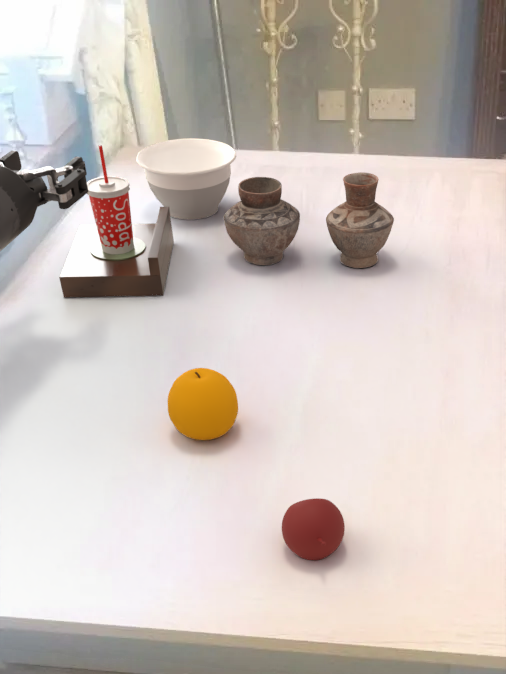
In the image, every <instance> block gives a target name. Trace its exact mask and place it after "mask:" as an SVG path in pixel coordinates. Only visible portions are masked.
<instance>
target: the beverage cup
mask: <svg viewBox="0 0 506 674" xmlns="http://www.w3.org/2000/svg"><path fill="white" fill-rule="evenodd" d="M98 152H99V157H100V163H101V167H102V168H101V169H102V174H103V176H99V177H95V178H92V179H90V180H88V181H87V187H88V193H87V194H86V195H88V199H89V202H90V206H91V211H92V214H93V218H94V223H95V224H96V226H97V230H98V234H99V238H100V242H101V246H102V250H103V251H104V252H105V253H108V254H124V253H127V252H129V251H131V250H133V248H134V242H133V232H132V224H133V222H132V213H131V204H130V190H131V188H130V186H131V185H130V182H129V180H128V179H127V178H125V177H122V176H117V175H108V172H107V166H106V165H107V164H106V161H105V155H104V149H103V145H102V144H98Z"/></svg>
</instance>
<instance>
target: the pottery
mask: <svg viewBox="0 0 506 674" xmlns="http://www.w3.org/2000/svg"><path fill="white" fill-rule="evenodd" d="M379 181H380V180H379V177H378V176H377V175H376V174H374V173H370V172H362V171H361V172H351V173H349V174H346V175H345V176H343V178H342V182H343V186H344V191H345V201H344V202H342V203H341V204H339V205H337V206H336V207H334V208H333V209H332V210H331V211H330V212H328V214H326V217H325V223H326V227H327V230H328V235H329V236H330V239H331V241H332V243H333V244H334V246H335V248H336V249H337V250H338V251H339V252H340V255H339V261H340V263H341V264H342V265H344V266H346V267H349V268H354V269H364V268H365V269H367V268H370V267H373V266H375V265H376V264H377V263H378V262H379V257H378V253H379V252H380V251H381V250H382V249H383V248H384V247H385V245H386V243H387V241H388V239H389V236H390V234H391V232H392V229H393V226H394V221H395V217H394V216H393V214H392V213H391V212H390V211H389V210H388V209H387V208H386V207H384V206H382V205H381V204H379V202H378V203H377V202H376V195H377V188H378V184H379ZM282 186H283V185H282V182H281V181H280V180H279V179H276V178H274V177H268V176H253V177H248V178H245V179H243V180H241V181H240V182H239V183H238V185H237V187H238V188H237V189H238V196H239V199H240V201H238V202H237V203H234V204H233V205H232V206H231V207H230V208H229V209H227V210H226V212H225V213H224V214H223V223H224V227H225V230H226V234H227V235H228V237H229V239H230V240H231V241H232V242H233V244H235V245H236V247H238V249H239V250H240V251H242V252H243V257H244V260H245V261H246V262H248V263H249V264H253V265H257V266H271V265H274V264H278V263H279V262H281V261H282V260H283V259H284V252H285V251H286V250H287V249H288V248H289V246H291V244H292V242H293V241H294V239H295V238H296V236H297V233H298V231H299V227H300V220H301V213H300V212H299V210H298V209H297V208H296V207H295V206H294V205H292V204H291V203H289V202H288V201H286V200H284V199H282V192H283V191H282V190H283V187H282Z"/></svg>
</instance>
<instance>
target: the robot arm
mask: <svg viewBox="0 0 506 674" xmlns="http://www.w3.org/2000/svg"><path fill="white" fill-rule="evenodd" d="M86 167H87V166H86V162H85V161H84V160H83V157H82V156H74V157H73V158H72V159H70V161H68V162H67V163H66V164H65V165H64V166H61V167H57V168H53V167H52V166H49V165H48V166H43V167H39V168H35V169H31V170H29V169H22V162H21V157H20V154H19V151H18V150H10V151H9V152H7V153H6V154H4V155H3V156H2V157H0V252H2V251H3V250H4V249H5V248H6V247H7V246H8V245H10V244H11V243H12V242H13V241H14V240H16V239H17V238H18V237H19V235H21V234H22V233H23V232H24V231H26V230H27V228H28V227H30V226H31V224H32V223H33V220H34V219H35V215H36V212H37V209H38V208H39V207H41V206H43V205H46V204H47V203H48V202H57V203H58V208H59V209H61V210H67V209H70V207H72V206H73V205H75V204H76V203H77V202H78V201H79V200H80V199H82V198H83V197H84V196H85V195H88V194H87V193H88V187H87V182H88V181H87V168H86ZM62 176H63V177H64V178H62V179H61V180H59V177H62ZM43 177H46V178H47V183H48V186H49V188H48V186H47V184H46V182H45V180H44V179H43Z"/></svg>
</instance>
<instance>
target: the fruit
mask: <svg viewBox="0 0 506 674" xmlns="http://www.w3.org/2000/svg"><path fill="white" fill-rule="evenodd" d="M345 529H346V525H345V519H344V516H343V514H342V512H341V510H340V509H339V507H337V506H336V505H335V504H334V503H333V502H332V501H331V500H328V499H326V498H319V497H318V498H307V499H302V500H300V501H297V502H294V503H292V504H291V505H289V507H288V508H287V509H286V511H285V513H284V514H283V517H282V521H281V534H282V535H281V536H282V538H283V541H284V543H285V545H286V546H287V547H288V549H289V550H290V551H291V552H292V553H293V554H295V555H297V556H298V558H301V559H304V560H306V561H320V560H323V559H326V558H328V557H329V556H330V555H331V554H333V553H334V552H335V551H336V550H337V549H338V548H339V546H340V545H341V544H342V541H343V539H344V536H345V531H346V530H345Z"/></svg>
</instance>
